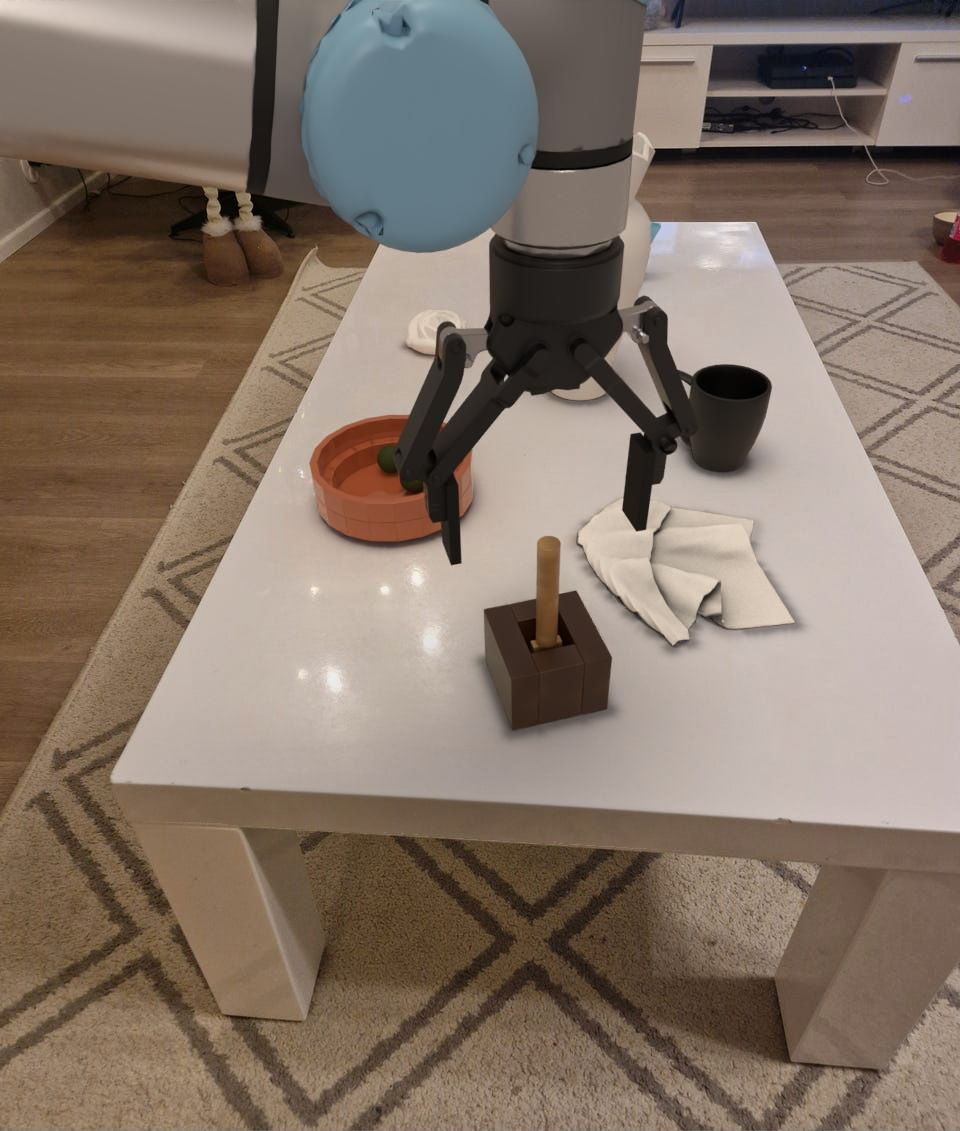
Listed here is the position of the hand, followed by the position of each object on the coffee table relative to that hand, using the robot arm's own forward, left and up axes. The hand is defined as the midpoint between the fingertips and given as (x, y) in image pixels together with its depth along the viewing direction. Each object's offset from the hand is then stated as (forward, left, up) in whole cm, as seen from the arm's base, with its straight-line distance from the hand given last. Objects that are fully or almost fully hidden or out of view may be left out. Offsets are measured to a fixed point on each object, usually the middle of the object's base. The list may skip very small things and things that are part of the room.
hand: (544, 536), depth 61 cm
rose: (+6, +65, -16) cm, 67 cm away
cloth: (+17, +10, -16) cm, 25 cm away
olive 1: (-6, +34, -13) cm, 37 cm away
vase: (+20, +47, -16) cm, 54 cm away
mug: (+28, +28, -16) cm, 43 cm away
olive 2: (-5, +29, -13) cm, 33 cm away
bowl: (-7, +29, -16) cm, 34 cm away
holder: (0, 0, -16) cm, 16 cm away
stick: (0, 0, -16) cm, 16 cm away
